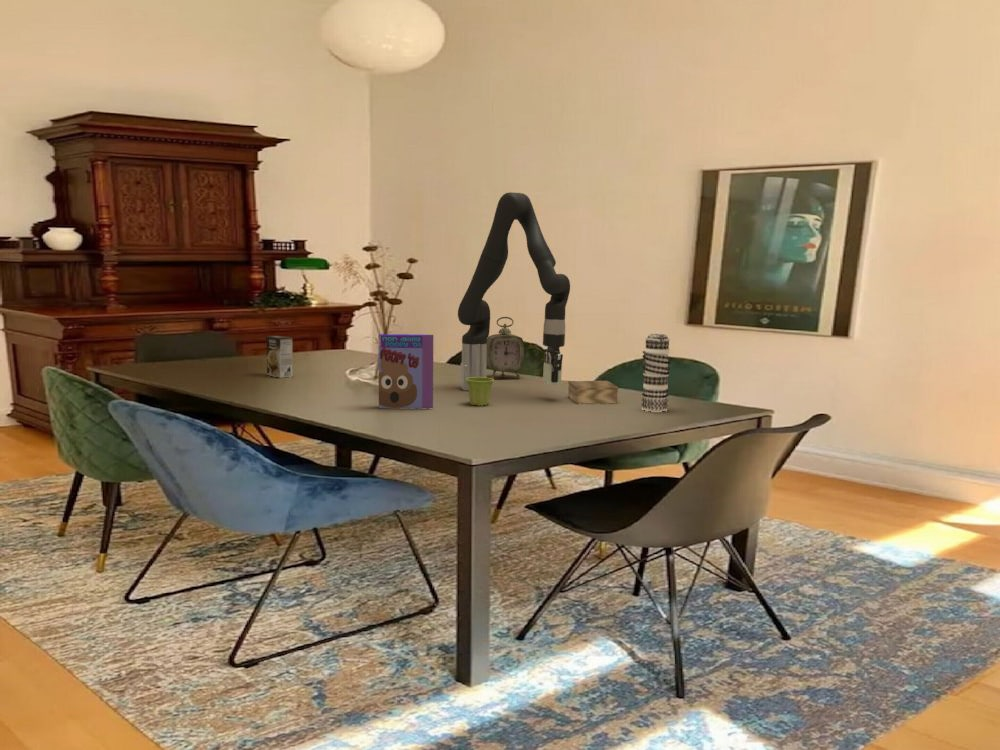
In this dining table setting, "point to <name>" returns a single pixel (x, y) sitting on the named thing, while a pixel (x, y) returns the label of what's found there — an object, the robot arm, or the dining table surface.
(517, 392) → the dining table surface
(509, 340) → the tabletop clock
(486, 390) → the plant pot
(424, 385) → the cereal box
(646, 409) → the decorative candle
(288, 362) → the coffee box
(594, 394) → the oak box
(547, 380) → the sage block
